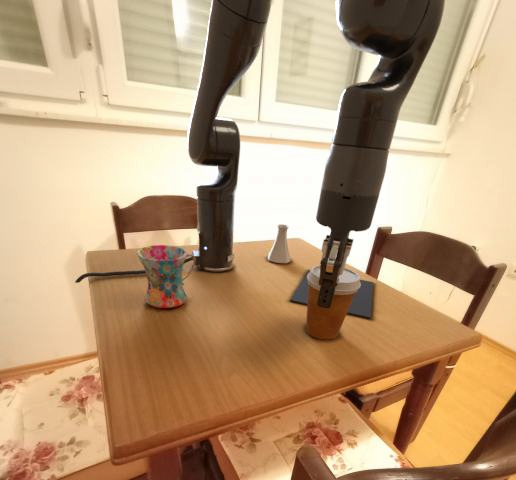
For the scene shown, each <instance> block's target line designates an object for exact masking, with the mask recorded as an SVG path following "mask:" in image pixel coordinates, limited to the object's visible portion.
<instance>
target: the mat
mask: <svg viewBox="0 0 516 480" xmlns="http://www.w3.org/2000/svg"><path fill="white" fill-rule="evenodd" d="M310 270H311V269H307V271H306V273H305V274H304V276H303V278H302V280H301V281H300V283H299V284H298V286H297V288H296V290H295V291H294V293H293V294H292V295H291V298H290V299H289V302H290V303H294V304H295V303H296V304H301V305H305V306H307V302H308V280H307V274H308V273H310ZM360 283H361V286H360V288H359V289H358V290H357V292H356V293H355V295H354V298H353V300H352V302H351V305H350V307H349V310H348V312H347V314H346V315H351V316H355V317H358V318H363V319H368V320H371V319H372V308H373V292H374V281H369V280H363V279H360Z"/></svg>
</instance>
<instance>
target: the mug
mask: <svg viewBox="0 0 516 480" xmlns="http://www.w3.org/2000/svg"><path fill="white" fill-rule="evenodd" d="M136 255H137V257H138V259H139V261H140V263H141V265H142V268H143V270H145V272H146V274H145V275H146V281H147V290H146V294H145V297H144V300H145V302H146V303H147V304H148V305H149V306H152V307H153V308H159V309H171V308H177V307H179V306H181V305H183V304H185V303H186V301H187V300H188V296H187V293H186V292H185V290H184V285H185V283H184V282H183V281H185V280H186V279H187V278H189V276H190V275H191V274H192V272H193V271H194V268H195V267H196V265H195V263H196V259H195V257H194V256H193V255H192V253H188V252H187V250H186V249H184V248H182V247H180V246H176V245H167V244H153V245H148V246H144V247H142V248H139V249H138V250H137V252H136ZM189 257H192V258H193V260H192V264H191V266H190V268H189V270H188V272H186V274H185V275H184V276H183V268H184V261H185V259H187V258H189Z"/></svg>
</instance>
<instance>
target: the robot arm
mask: <svg viewBox="0 0 516 480" xmlns="http://www.w3.org/2000/svg"><path fill="white" fill-rule="evenodd" d="M272 2H273V1H272V0H211V7H210V13H209V19H208V27H207V35H206V42H205V47H204V54H203V59H202V61H203V62H202V67H201V71H200V77H199V83H198V86H197V91H196V95H195V98H194V103H193V107H192V111H191V116H190V119H189V124H188V131H187V152H188V156H189V158H190V160H191V161H192V163H194V164H195V165H198V166H202V167H216V170H215V173H214V174H213V175H212V176H210V177H209V178H207V179H206V180H203V181H201V182H199V183H198V184H197V186H196V216H197V217H196V219H197V226H196V250H192V253H191V254H192V255H193V256H194V257H195V259H196V263H195V266H198V269H199V271H206V272H210V273H212V272H213V273H221V272H228V271H230V270H231V269H233V267H234V263H233V262H234V261H233V260H234V259H235V253H234V232H235V231H234V230H235V229H234V228H235V205H236V204H235V202H236V201H235V199H236V192H237V188H238V183H239V182H238V180H239V167H240V156H241V134H240V129H239V127H238V124H237V123H236V122H235V120H233V119H230V118H225V117H224V118H223V117H218V114H219V112H220V108H221V107H222V104H223V102H224V100H225V99H226V97H227V96H228V94H229V93H230V92H231V91H232V89H233V88H234V87H235V86H236V85H237V84H238V82H239V81H240V80H242V78H243V77H244V75H245V74H246V73H247V71H249V69H250V68H251V67H252V66H253V64H254V62H255V61H256V59H257V57H258V54H259V52H260V49H261V46H262V42H263V39H264V36H265V32H266V29H267V25H268V21H269V17H270V13H271V8H272ZM445 4H446V0H335V16H336V17H335V18H336V24H337V28H338V30H339V32H340V34H341V36H342V37H343V39H344V40H345V41H346V43H347V44H348V45H349V46H350V47H352V48H353V49H354V50H357V51H361V52H364V53H367V54H372V55H375V56H378V57H377V60H376V63H375V66H374V68H373V70H372V72H371V74H370V76H369V78H368V80H367V81H360V82H356V83H352V84H350V85H348V86H347V87H346V88H345V89H344V90H343V91H342V93H341V96H340V98H339V102H338V107H337V112H336V116H335V122H334V127H333V133H332V139H331V145H330V149H329V152H328V156H327V159H326V162H325V166H324V172H323V177H322V183H321V187H320V188H321V189H320V194H319V199H318V205H317V212H316V216H315V220H316V222H317V223H318V224H319V225H321V226H322V227H327V228H329V229H330V233H329V234H326V236H325V238H323V240H322V246H321V253H322V255H321V259H320V263H319V265H320V279H319V285H321V287H320V292H319V297H318V302H317V305H318V306H319V307H322V308H327V309H329V308H330V307H331V304H332V300H333V296H334V292H335V288H336V286H337V285H338V282H339V276H340V275H342V274H343V271H344V268H346V263H347V260H348V257H350V253H351V251H352V248H353V244H354V239H353V238H349V237H350V233H351V232H353V231H354V232H364V231H367V230H369V229H370V228H371V226H372V222H373V219H374V217H375V216H374V215H375V211H376V208H377V204H378V201H379V197H380V194H381V191H382V187H383V183H384V179H385V174H386V172H387V165H388V158H389V154H390V149H391V146H392V141H393V138H394V134H395V131H396V127H397V123H398V119H399V116H400V112H401V109H402V106H403V104H404V102H405V100H406V98H407V97H408V95H409V93H410V91H411V89H412V87H413V86H414V83H415V81H416V79H417V77H418V75H419V72H420V71H421V68H422V67H423V65H424V62H425V60H426V58H427V57H428V54H429V52H430V50H431V48H432V46H433V44H434V42H435V40H436V37H437V34H438V32H439V29H440V27H441V24H442V19H443V16H444V11H445ZM191 261H193V258H192V257H191V256H189V257H186V258H185V261H184V264H186V263H189V262H191ZM184 264H183V265H184ZM127 275H146V272H145V269H141V270H140V269H139V270H121V271H120V270H119V271H107V272H86V273H83V274H82V275H79V277H77V279H75V281H74V283H76V284H78V283H81V282H82V281H83V280H84V279H86V278H89V277H111V276H113V277H114V276H127Z"/></svg>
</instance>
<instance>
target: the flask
mask: <svg viewBox="0 0 516 480" xmlns="http://www.w3.org/2000/svg"><path fill="white" fill-rule="evenodd" d="M288 229H289V225H287V224H277V233H276V237H275V240H274V242H273V244H272V247H271V249H270V251H269V253H268V255H267V260H268V261H269V262H272V263H275V264H288V263H289V262H291V261H292V260H291V254H290V250H289V244H288Z"/></svg>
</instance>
